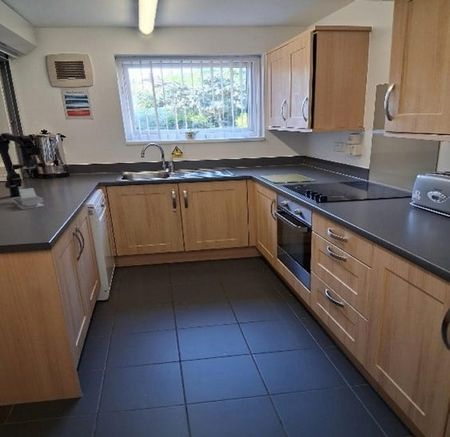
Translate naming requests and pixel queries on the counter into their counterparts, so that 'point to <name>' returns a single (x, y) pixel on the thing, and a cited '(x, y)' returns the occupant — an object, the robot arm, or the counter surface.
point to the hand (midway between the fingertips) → (30, 178)
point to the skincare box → (28, 197)
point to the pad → (31, 206)
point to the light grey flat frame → (18, 202)
